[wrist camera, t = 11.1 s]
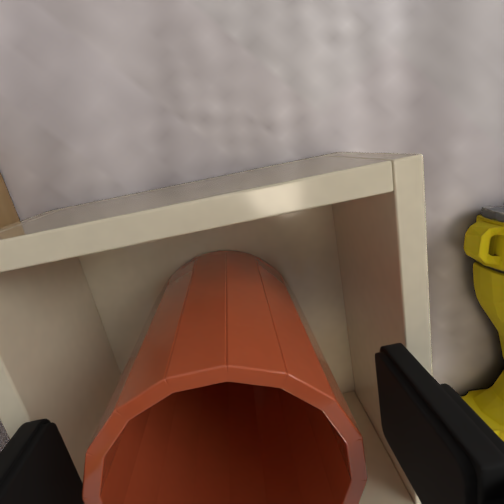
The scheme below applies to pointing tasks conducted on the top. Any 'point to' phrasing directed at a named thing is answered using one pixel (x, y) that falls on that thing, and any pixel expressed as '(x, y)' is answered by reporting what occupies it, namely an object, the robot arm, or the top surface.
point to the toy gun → (489, 303)
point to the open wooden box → (210, 240)
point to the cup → (226, 400)
